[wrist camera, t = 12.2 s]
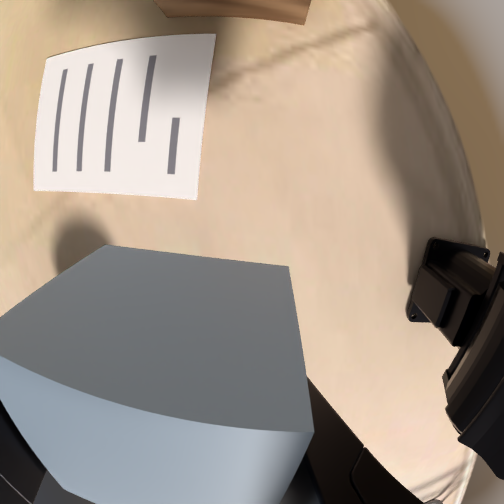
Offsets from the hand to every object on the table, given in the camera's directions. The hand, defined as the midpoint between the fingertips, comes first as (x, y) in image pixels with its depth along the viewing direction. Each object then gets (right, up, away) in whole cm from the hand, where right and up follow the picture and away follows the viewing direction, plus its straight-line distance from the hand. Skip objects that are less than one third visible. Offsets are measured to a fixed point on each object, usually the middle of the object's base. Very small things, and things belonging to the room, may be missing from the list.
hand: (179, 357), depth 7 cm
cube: (0, 0, +1) cm, 1 cm away
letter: (-8, +12, +9) cm, 17 cm away
